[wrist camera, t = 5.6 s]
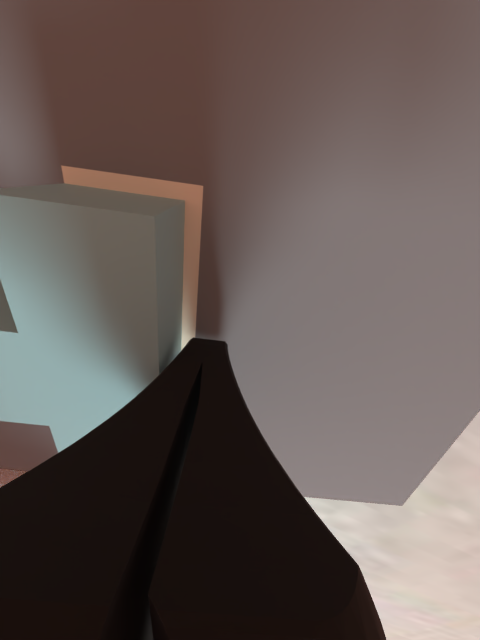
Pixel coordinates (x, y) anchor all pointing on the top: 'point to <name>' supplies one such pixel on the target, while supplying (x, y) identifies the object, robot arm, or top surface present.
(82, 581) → the robot arm
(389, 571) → the top surface
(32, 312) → the t block
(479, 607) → the top surface
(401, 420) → the mat
